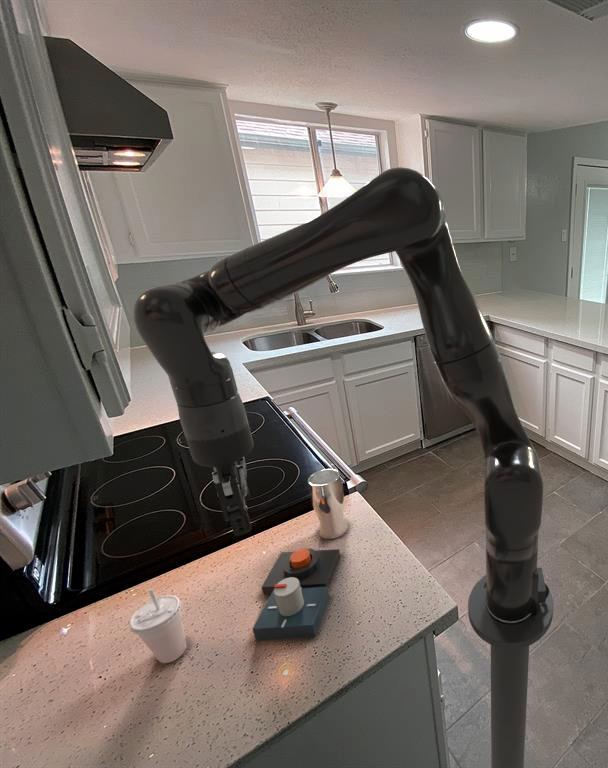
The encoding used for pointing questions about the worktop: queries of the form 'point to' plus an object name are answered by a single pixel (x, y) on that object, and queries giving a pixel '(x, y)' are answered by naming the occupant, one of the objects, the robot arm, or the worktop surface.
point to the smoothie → (160, 627)
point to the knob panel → (292, 617)
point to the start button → (300, 558)
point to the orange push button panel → (304, 570)
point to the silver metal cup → (328, 502)
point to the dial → (289, 596)
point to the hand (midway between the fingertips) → (243, 516)
